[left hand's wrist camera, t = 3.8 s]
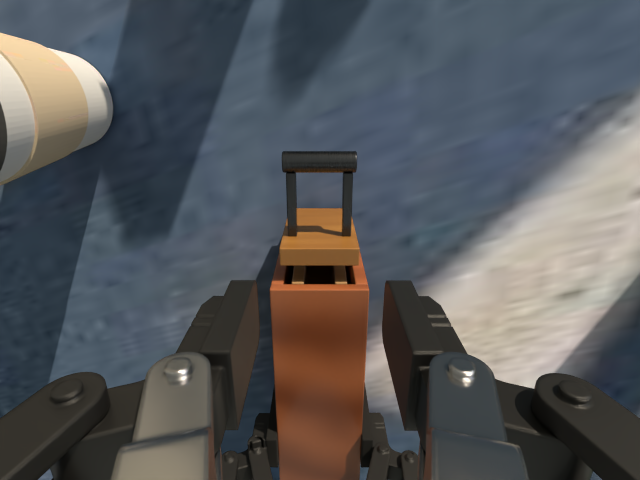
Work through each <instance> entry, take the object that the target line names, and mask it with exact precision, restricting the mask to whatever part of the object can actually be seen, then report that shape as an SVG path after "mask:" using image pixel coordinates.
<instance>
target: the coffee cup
mask: <svg viewBox="0 0 640 480" xmlns="http://www.w3.org/2000/svg"><path fill="white" fill-rule="evenodd" d="M112 116H113V102H112V97H111V94H110V91H109V88H108V86H107V84H106V82H105V81H104V79H103V77H102V76H101V75H100V74H99V72H98V71H97V70H96V69H95V68H94V67H93V66H92V65H90V64H89V63H88V62H86V61H85V60H83V59H81V58H80V57H77V56H75V55H72V54H69V53H65V52H61V51H57V50H53V49H49V48H46V47H44V46H42V45H40V44H37V43H35V42H32V41H28V40H24V39H21V38H17V37H13V36H10V35H6V34H2V33H0V185H3V184H5V183H8V182H10V181H12V180H14V179H17V178H19V177H21V176H23V175H26V174H28V173H30V172H32V171H35V170H37V169H39V168H41V167H44V166H46V165H48V164H50V163H53V162H55V161H57V160H59V159H62V158H64V157H66V156H67V155H69V154H70V153H72V152H74V151H76V150H79V149H81V148H83V147H86V146H88V145H91V144H93V143H95V142H97V141H98V140H99V139H101V138H102V137H103V136H104V134H105V133H106V132H107V130H108V128H109V126H110V124H111V121H112Z"/></svg>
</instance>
